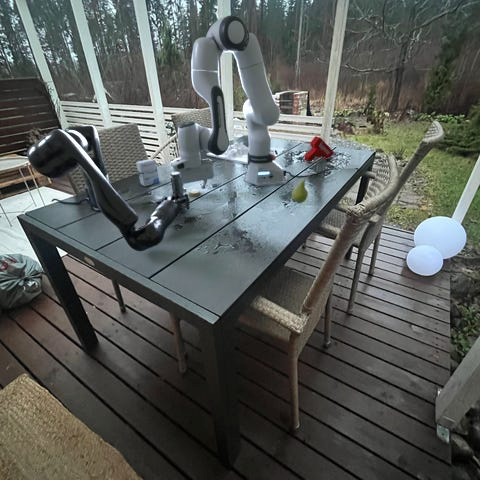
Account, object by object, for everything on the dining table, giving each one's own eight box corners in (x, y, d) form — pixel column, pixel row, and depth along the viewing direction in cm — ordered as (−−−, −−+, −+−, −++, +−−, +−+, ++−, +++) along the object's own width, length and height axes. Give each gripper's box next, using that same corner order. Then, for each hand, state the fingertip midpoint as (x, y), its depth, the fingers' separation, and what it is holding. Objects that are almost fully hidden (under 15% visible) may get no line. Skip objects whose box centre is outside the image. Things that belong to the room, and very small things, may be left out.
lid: (197, 197, 127) (196, 193, 126) (187, 195, 128) (186, 192, 128) (201, 193, 131) (201, 189, 130) (192, 191, 132) (191, 188, 132)
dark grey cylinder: (174, 210, 115) (168, 172, 106) (184, 208, 117) (179, 170, 108) (177, 214, 112) (171, 175, 103) (186, 212, 113) (181, 174, 104)
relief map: (248, 164, 168) (248, 156, 165) (206, 155, 186) (206, 147, 183) (271, 154, 186) (271, 146, 183) (231, 147, 204) (231, 140, 201)
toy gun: (305, 158, 165) (319, 136, 162) (300, 157, 168) (315, 135, 166) (320, 172, 177) (334, 152, 174) (316, 170, 180) (329, 151, 177)
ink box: (155, 180, 146) (151, 158, 140) (159, 182, 143) (156, 160, 136) (140, 184, 141) (135, 161, 134) (145, 186, 138) (140, 163, 131)
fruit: (288, 200, 123) (290, 174, 116) (302, 197, 125) (305, 172, 119) (296, 206, 118) (299, 179, 111) (310, 203, 120) (314, 177, 114)
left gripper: (182, 205, 96) (196, 187, 110) (145, 203, 98) (163, 186, 112) (185, 224, 100) (198, 204, 114) (149, 221, 102) (166, 202, 116)
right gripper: (209, 156, 128) (211, 184, 135) (166, 162, 119) (171, 192, 127) (215, 159, 123) (216, 188, 130) (171, 166, 115) (175, 196, 122)
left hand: (180, 195), depth 113 cm, fingers closed on dark grey cylinder, 4 cm apart
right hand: (194, 190), depth 129 cm, fingers open, 8 cm apart
